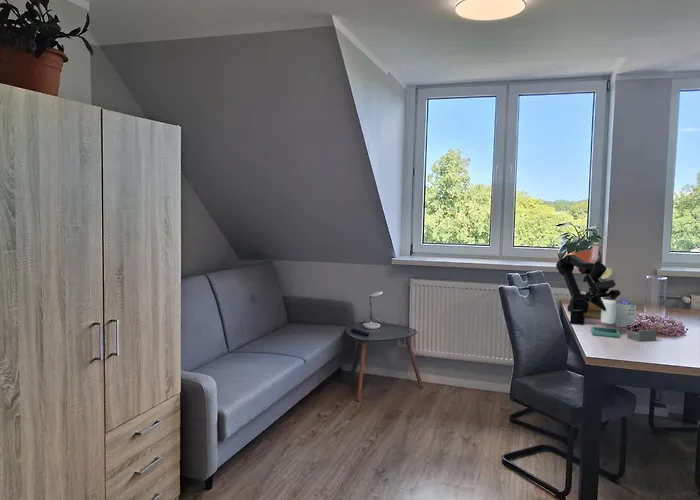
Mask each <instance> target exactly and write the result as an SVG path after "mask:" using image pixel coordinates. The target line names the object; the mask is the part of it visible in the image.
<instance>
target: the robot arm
mask: <svg viewBox="0 0 700 500" xmlns="http://www.w3.org/2000/svg"><path fill="white" fill-rule="evenodd" d="M555 266H556V269H557V271H558V273H559V274H560V275H562V277H563V278H564V282H565V284H566V286H567V288H568V291H569V294H570V297H571V298H570V300H569V304H568V305H567V308H566V309H567V312H570V319H569V324H573V325H582V326H583V325H584V324H585V315H584V312H585V313H587V310H588V306H589V303H593V304H595V305H596V306H598V307H600V308H601V309H603V310H604V311H605V310H606V308H605V306H604V304H603V302H602V300H601V297H605V298H614V299H615V300H617V299H616V298H619V296H620V295H621V294H622V293H621V292H620V290H619V289H614V288H615V286H616V282H615V281H614V279H609V280H610V281H606V280H605V281H603V282H602V281H600V280H601V279H602V278H601V277H602V275H603V274H604V272H605V271H606V268H607V267H606V265H605V264H603V263H601V261H599V260H596V261H595V262H594V263H593V262H590V261H585V260H583V259H581V258H579V257H578V256H577V255H576V254H567V255H565V256H564V257H562V258H560V259H559V260H558V261H557V263H556V265H555ZM574 268H577V269H578V272H579V273H580V274H581V275H585V276H583V279H582V280H583V281H582V282H583V283H587V285H588V291H587V292H586V293H581V292H580V288H579V285H578V284H577V281H576V278H575V276H574V273H573V272H574ZM599 279H600V280H599ZM612 288H613V289H612ZM610 289H611V290H610ZM616 309H617V308H616Z"/></svg>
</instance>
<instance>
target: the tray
mask: <svg viewBox="0 0 700 500" xmlns="http://www.w3.org/2000/svg"><path fill="white" fill-rule="evenodd" d="M591 334H592V336H593V337H594V336H595V337H605V338H615V339H620V332H619V330H618V328H610V327H609V328H608V327H600V326H591Z"/></svg>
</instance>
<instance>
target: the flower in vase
mask: <svg viewBox="0 0 700 500" xmlns="http://www.w3.org/2000/svg"><path fill="white" fill-rule="evenodd" d="M611 275H612V269H610V268H609V267H606V271H605V272H604V274H603V275H602V277H601V278H598V279H599V280H600V282H604V281H603V280H605V281H610V280H611V279H609V278H610V277H611ZM601 279H602V280H601ZM603 298H606V297H601V300H603Z"/></svg>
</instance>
